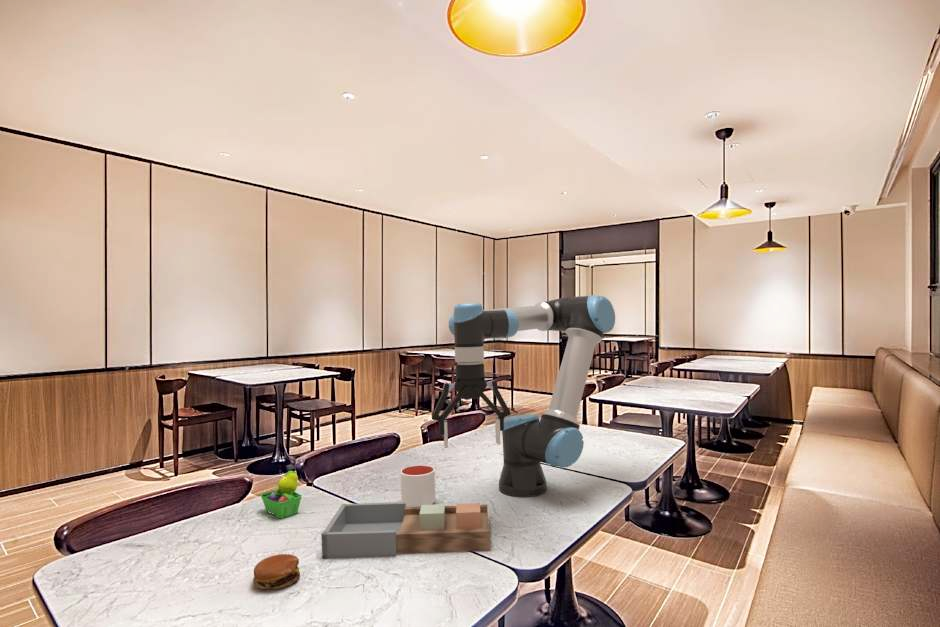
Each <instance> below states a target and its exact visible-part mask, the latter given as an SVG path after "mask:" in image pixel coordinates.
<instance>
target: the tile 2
mask: <svg viewBox="0 0 940 627" xmlns="http://www.w3.org/2000/svg"><path fill="white" fill-rule="evenodd" d="M480 505H481V503H480V502H474V503H473V502H472V503H470V502H469V503H456V505H455V506H456V529H476V528H481V516H480Z"/></svg>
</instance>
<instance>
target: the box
mask: <svg viewBox="0 0 940 627" xmlns="http://www.w3.org/2000/svg"><path fill="white" fill-rule="evenodd" d="M405 507H406V502H402V501H397V502H394V501H393V502H390V501H389V502H366V503H365V502H362V503H359V502H358V503H342V504H341V505H340V506H339V507H338V510H337V511H336V512H335V514H334V515H333V517H332V519H331V520H330V521H329V523H328V524H327V526H326V527H325V529H324V530H323V532H322V533H321V558H322V559H334V558H335V559H337V558H341V559H343V558H370V557H371V558H372V557H397V555H398V554H397V545H396V534H397V532H399V531H400V528H401V525H402V522H403V519H404V516H405Z"/></svg>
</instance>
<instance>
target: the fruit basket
mask: <svg viewBox="0 0 940 627" xmlns="http://www.w3.org/2000/svg"><path fill="white" fill-rule="evenodd" d="M298 479H299V476H298V475H297V472H296V471H293V470H288V471H287V472H286V474H285V475H284V476H283V477H281V479H279V480H278V482H277V486H278V489H273V491H269V492H265V493H262V494H260V497H261V499H262V502H263V505H264V507H265V508H264V509H265V511H266V510H267V511H269V512H271V513H273V514H274V515H276V516H278V517H279V518H278V517H277V518H278V519H280V518H282V519H285V518H288V517H291V516H293V515H297V514H298V512H299V507H300V503H301V500H302V497H303V495H302V494H299V493H298V492H296V490H297V489H298ZM296 513H297V514H296ZM274 515H273V516H274ZM290 515H291V516H290ZM276 516H275V517H276ZM287 516H288V517H287ZM284 517H285V518H284Z"/></svg>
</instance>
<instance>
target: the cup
mask: <svg viewBox="0 0 940 627" xmlns="http://www.w3.org/2000/svg"><path fill="white" fill-rule="evenodd" d="M435 476H436V475H435V468H434V467H433V466H429V465H421V464H420V465H411V466H407V467H404V468H402V469H401V471H400V490H401V491H400V492H401V493H400V494H401V502H406V507H421V506H422V505H434V503H435V501H436V479H435V478H436V477H435Z"/></svg>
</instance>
